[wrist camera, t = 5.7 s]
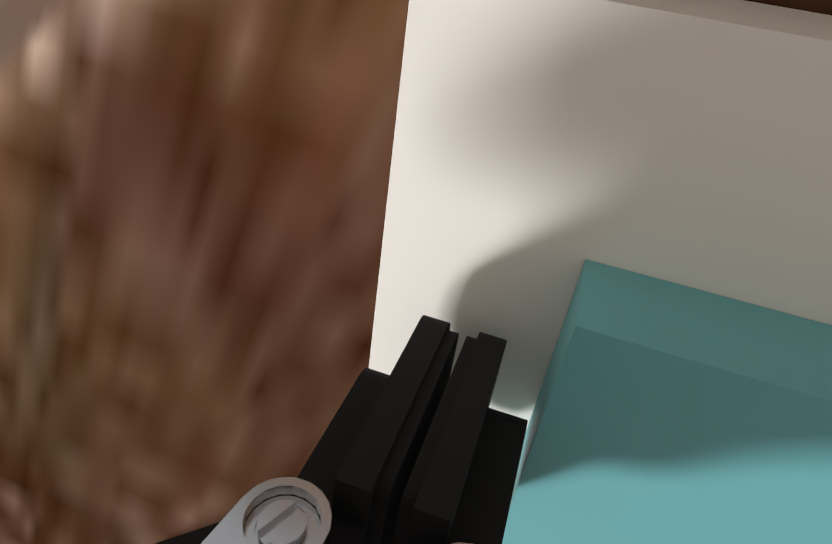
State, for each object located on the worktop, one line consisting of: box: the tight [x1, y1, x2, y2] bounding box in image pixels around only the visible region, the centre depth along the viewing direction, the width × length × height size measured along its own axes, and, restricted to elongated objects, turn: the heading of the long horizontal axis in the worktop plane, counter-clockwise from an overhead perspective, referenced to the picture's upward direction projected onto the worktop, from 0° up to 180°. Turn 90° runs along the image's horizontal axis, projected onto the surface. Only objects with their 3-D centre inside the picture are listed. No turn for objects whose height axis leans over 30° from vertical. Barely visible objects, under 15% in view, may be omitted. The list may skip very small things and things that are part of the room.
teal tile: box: [502, 259, 832, 544], centre depth 10 cm, size 8×6×2 cm
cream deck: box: [369, 0, 832, 430], centre depth 13 cm, size 11×14×4 cm
